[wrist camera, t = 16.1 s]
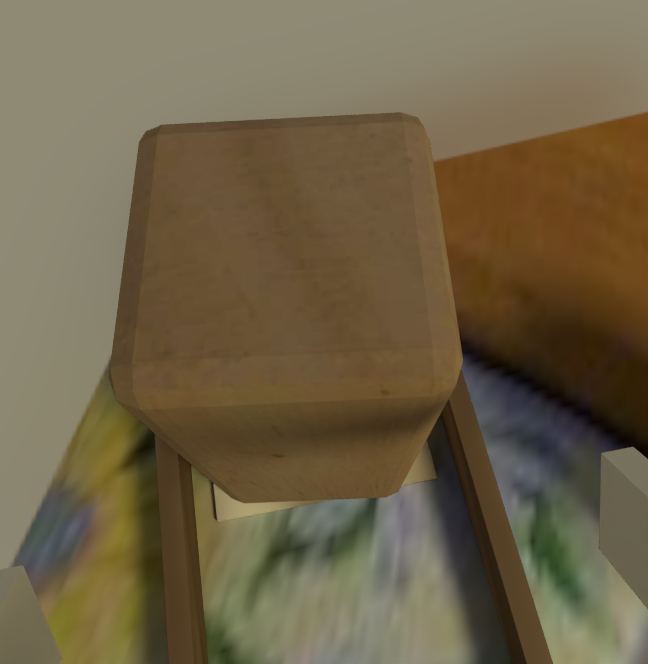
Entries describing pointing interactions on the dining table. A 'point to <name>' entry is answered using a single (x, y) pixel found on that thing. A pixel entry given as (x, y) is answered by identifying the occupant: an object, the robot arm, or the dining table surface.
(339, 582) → the dining table surface
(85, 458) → the dining table surface
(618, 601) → the dining table surface
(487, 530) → the bay
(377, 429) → the wooden block
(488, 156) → the dining table surface
